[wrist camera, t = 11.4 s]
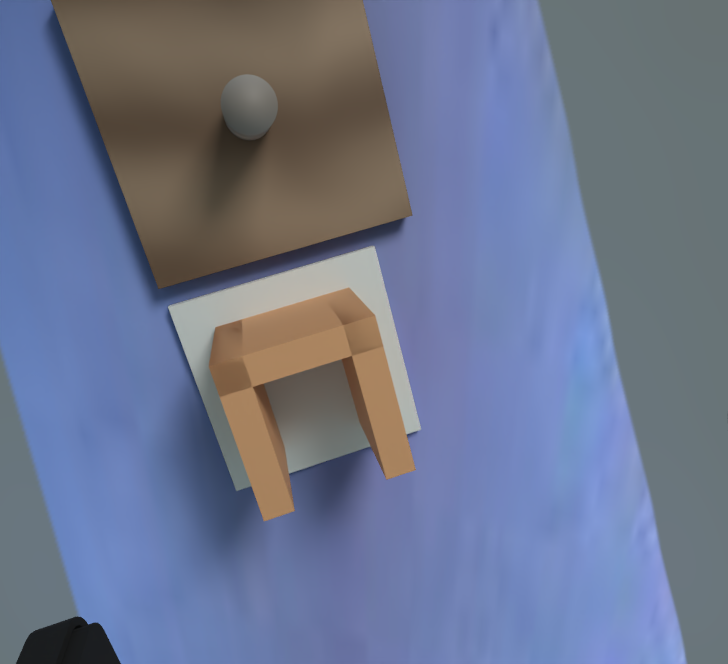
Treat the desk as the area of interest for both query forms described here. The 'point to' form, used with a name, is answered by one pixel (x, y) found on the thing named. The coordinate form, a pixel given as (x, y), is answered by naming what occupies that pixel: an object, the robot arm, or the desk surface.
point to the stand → (238, 124)
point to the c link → (296, 354)
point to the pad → (304, 389)
